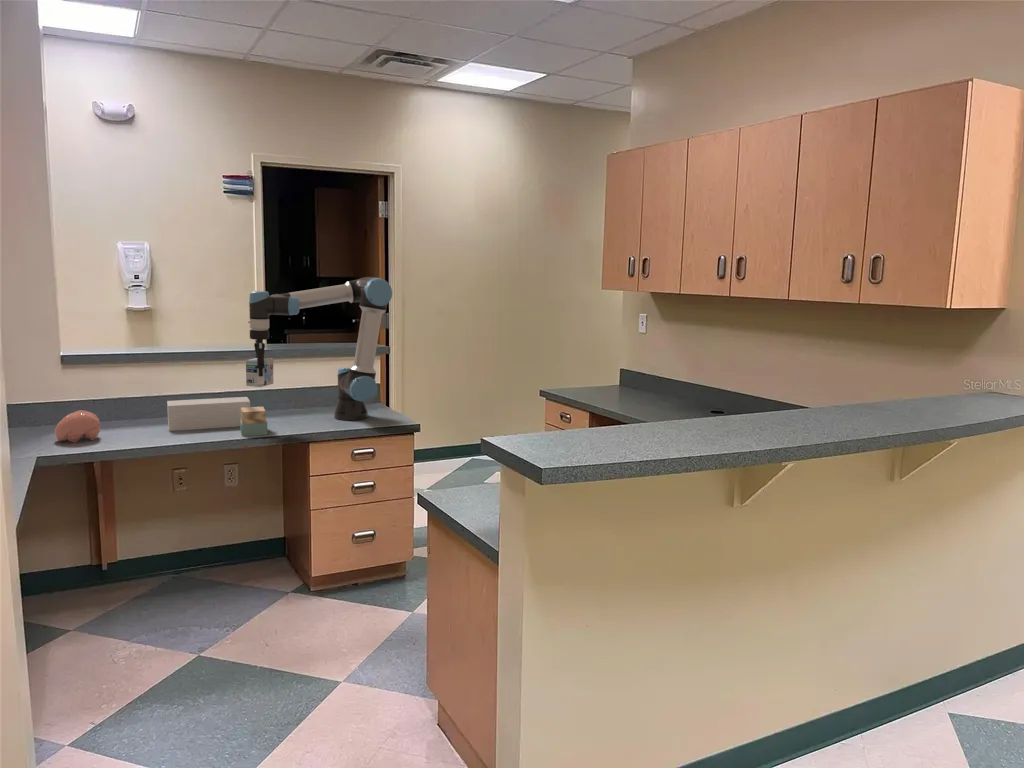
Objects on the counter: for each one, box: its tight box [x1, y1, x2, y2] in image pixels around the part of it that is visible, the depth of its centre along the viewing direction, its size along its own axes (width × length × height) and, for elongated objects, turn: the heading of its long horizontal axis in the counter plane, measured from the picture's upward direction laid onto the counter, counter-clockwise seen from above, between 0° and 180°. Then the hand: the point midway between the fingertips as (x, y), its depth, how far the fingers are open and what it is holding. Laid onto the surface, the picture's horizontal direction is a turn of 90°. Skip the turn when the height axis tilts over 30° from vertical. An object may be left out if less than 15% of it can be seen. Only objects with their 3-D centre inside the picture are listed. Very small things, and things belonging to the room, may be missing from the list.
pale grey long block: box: [166, 396, 251, 432], centre depth 314 cm, size 32×11×11 cm, turn 116°
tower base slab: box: [239, 419, 269, 437], centre depth 305 cm, size 10×10×5 cm
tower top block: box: [241, 406, 267, 424], centre depth 304 cm, size 9×9×5 cm
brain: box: [54, 409, 101, 443], centre depth 284 cm, size 16×13×12 cm
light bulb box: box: [245, 357, 274, 388], centre depth 302 cm, size 11×7×11 cm, turn 168°
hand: (259, 381), depth 303 cm, fingers closed on light bulb box, 12 cm apart
